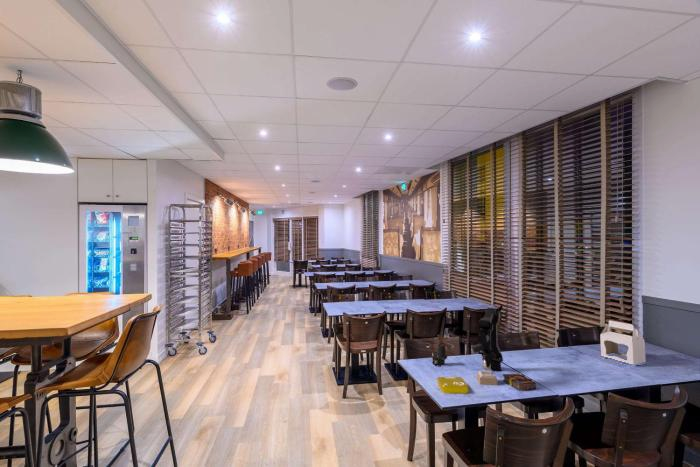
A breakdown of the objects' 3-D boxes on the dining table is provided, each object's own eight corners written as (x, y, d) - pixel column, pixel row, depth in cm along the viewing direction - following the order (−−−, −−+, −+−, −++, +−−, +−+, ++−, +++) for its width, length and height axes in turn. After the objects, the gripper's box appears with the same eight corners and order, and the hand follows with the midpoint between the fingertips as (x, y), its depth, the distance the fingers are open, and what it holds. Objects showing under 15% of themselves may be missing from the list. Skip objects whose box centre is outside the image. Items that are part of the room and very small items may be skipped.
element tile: (461, 384, 206) (461, 376, 206) (469, 394, 191) (469, 385, 191) (436, 383, 206) (436, 375, 206) (442, 394, 191) (442, 385, 191)
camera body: (493, 380, 210) (493, 371, 210) (497, 385, 202) (497, 375, 202) (476, 379, 211) (476, 370, 212) (480, 384, 203) (480, 375, 204)
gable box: (646, 364, 236) (644, 324, 238) (634, 367, 232) (632, 326, 233) (612, 355, 257) (610, 318, 259) (600, 357, 253) (598, 320, 254)
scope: (431, 343, 244) (444, 343, 245) (431, 363, 243) (445, 362, 244) (434, 346, 236) (448, 346, 237) (435, 366, 235) (449, 366, 236)
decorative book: (519, 380, 210) (518, 372, 211) (537, 390, 195) (537, 381, 195) (502, 381, 208) (502, 373, 209) (520, 392, 193) (520, 383, 193)
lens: (481, 367, 210) (481, 357, 210) (489, 367, 209) (489, 357, 210) (483, 369, 205) (483, 359, 205) (491, 370, 205) (491, 360, 205)
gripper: (468, 336, 218) (469, 360, 218) (476, 344, 200) (476, 370, 199) (486, 336, 217) (487, 361, 216) (495, 344, 198) (496, 371, 198)
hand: (486, 366), depth 207 cm, fingers closed on lens, 5 cm apart
